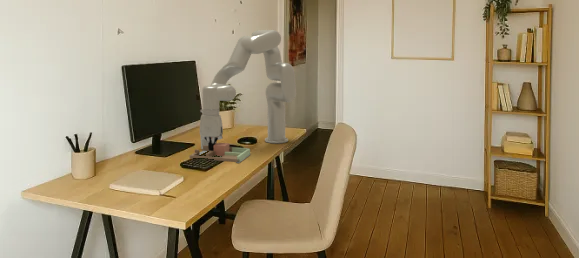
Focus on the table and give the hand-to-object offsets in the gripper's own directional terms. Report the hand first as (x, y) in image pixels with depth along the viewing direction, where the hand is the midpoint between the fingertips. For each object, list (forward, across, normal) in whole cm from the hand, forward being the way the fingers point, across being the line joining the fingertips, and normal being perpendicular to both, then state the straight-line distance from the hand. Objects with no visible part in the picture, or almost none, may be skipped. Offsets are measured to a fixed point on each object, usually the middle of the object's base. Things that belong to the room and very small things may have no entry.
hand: (212, 150), depth 203 cm
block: (+2, +5, 0) cm, 5 cm away
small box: (+2, -7, +11) cm, 13 cm away
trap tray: (+2, +5, -2) cm, 6 cm away
